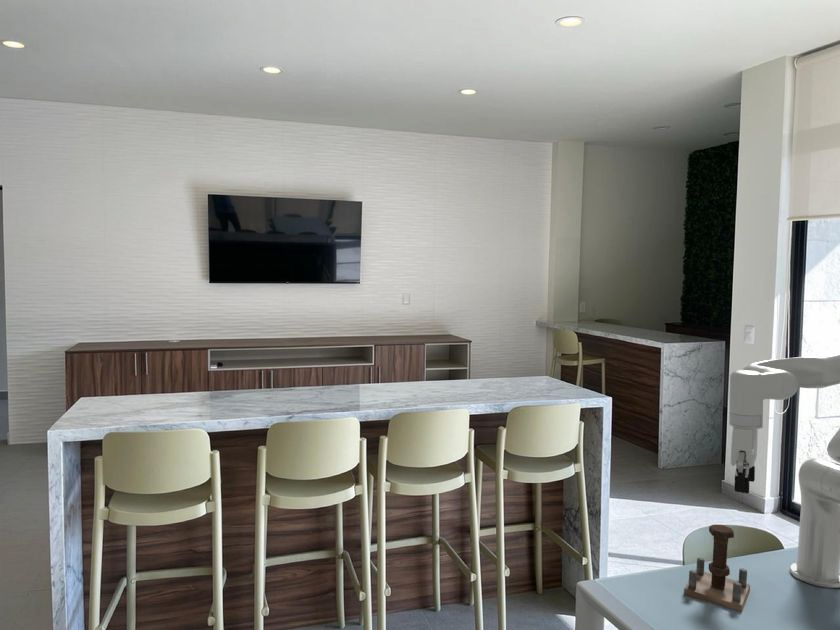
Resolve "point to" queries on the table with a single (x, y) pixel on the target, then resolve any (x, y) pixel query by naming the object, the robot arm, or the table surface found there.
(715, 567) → the bolt
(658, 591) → the table surface
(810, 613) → the table surface
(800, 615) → the table surface
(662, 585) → the table surface
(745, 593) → the peg holder
